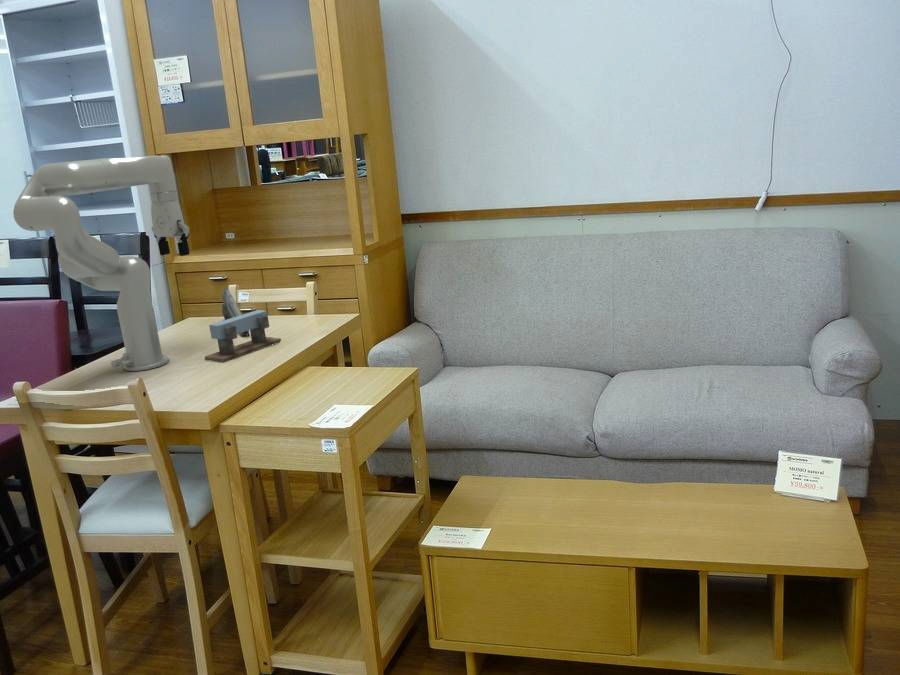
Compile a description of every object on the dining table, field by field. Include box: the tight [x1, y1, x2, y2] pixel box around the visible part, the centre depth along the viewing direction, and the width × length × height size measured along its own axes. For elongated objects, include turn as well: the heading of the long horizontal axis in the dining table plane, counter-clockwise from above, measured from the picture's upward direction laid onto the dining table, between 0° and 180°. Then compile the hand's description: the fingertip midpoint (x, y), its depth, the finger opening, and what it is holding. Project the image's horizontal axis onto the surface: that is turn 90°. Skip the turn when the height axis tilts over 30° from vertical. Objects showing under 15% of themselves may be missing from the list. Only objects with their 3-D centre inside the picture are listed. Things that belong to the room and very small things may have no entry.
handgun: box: [221, 287, 250, 337], centre depth 269 cm, size 31×3×15 cm, turn 27°
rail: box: [208, 309, 268, 340], centre depth 237 cm, size 18×4×4 cm, turn 143°
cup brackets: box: [204, 315, 282, 363], centre depth 238 cm, size 22×8×9 cm, turn 144°
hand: (174, 254), depth 245 cm, fingers open, 9 cm apart
